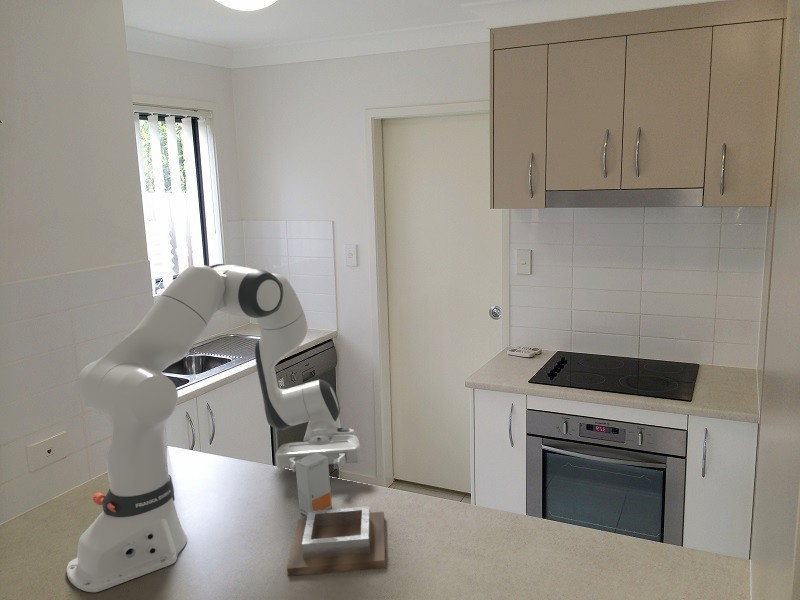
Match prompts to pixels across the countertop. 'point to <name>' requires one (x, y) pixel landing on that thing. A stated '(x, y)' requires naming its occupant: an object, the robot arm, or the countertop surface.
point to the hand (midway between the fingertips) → (316, 467)
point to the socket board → (338, 541)
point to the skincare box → (313, 483)
